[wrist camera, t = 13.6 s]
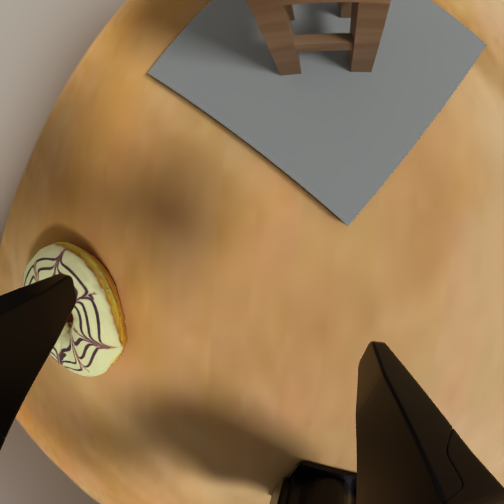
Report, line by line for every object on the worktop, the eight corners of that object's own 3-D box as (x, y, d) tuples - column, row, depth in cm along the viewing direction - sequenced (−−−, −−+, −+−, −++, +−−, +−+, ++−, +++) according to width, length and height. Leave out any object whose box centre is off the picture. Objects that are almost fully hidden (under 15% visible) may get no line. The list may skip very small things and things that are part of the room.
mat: (481, 50, 13) (486, 44, 12) (346, 224, 17) (347, 225, 16) (293, -60, 14) (291, -68, 13) (154, 77, 18) (147, 73, 17)
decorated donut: (83, 374, 24) (58, 392, 21) (33, 273, 24) (4, 281, 21) (157, 345, 22) (129, 367, 18) (93, 216, 21) (58, 220, 18)
